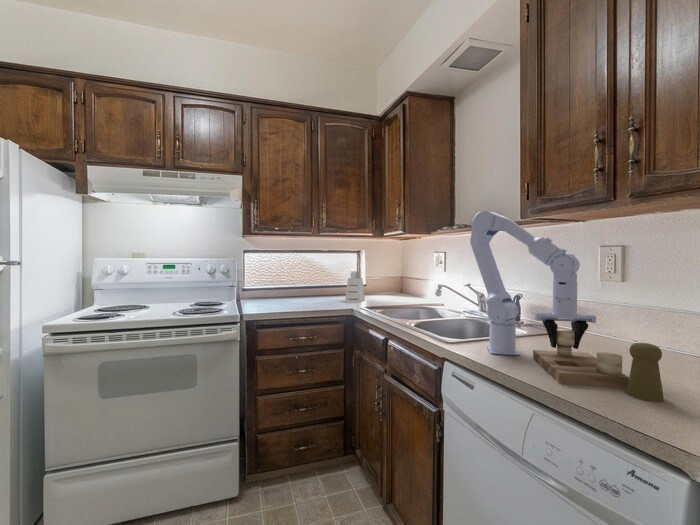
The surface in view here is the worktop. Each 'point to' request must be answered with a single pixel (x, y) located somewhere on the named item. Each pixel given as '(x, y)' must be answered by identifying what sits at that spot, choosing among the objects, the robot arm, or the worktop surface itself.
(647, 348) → the olive pawn piece
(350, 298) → the grater
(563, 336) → the peg
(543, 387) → the worktop surface
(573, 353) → the board
